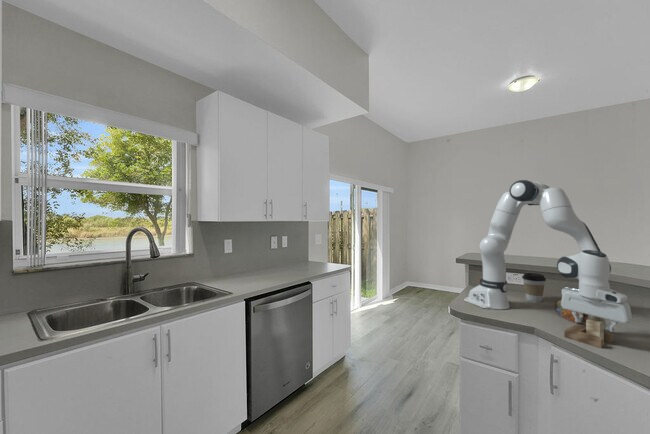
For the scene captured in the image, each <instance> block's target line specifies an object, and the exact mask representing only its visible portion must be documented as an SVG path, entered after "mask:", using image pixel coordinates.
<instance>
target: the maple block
mask: <svg viewBox="0 0 650 434" xmlns="http://www.w3.org/2000/svg"><path fill="white" fill-rule="evenodd" d="M585 326H586V333H587V334H590V335H594V336H597V337H601V338H604V321H600V320H596V319H592V318H591V317H590V318H587V320H586V322H585Z"/></svg>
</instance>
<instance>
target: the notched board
mask: <svg viewBox="0 0 650 434" xmlns="http://www.w3.org/2000/svg"><path fill="white" fill-rule="evenodd" d="M564 338H567V339H571V340H572V341H576V342H580V343H583V344H587V345H590V346H593V347H595V348H599V349H602V348H604V347H605V342H606V343H612V342H614V333H613V332H611V331H609V332H607V331H604V338H601V337H597V336H594V335H590V334H587V333H586V325H583V324H581V323H575V324H574V325H572V326H569V327H567V328H565V329H564Z"/></svg>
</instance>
